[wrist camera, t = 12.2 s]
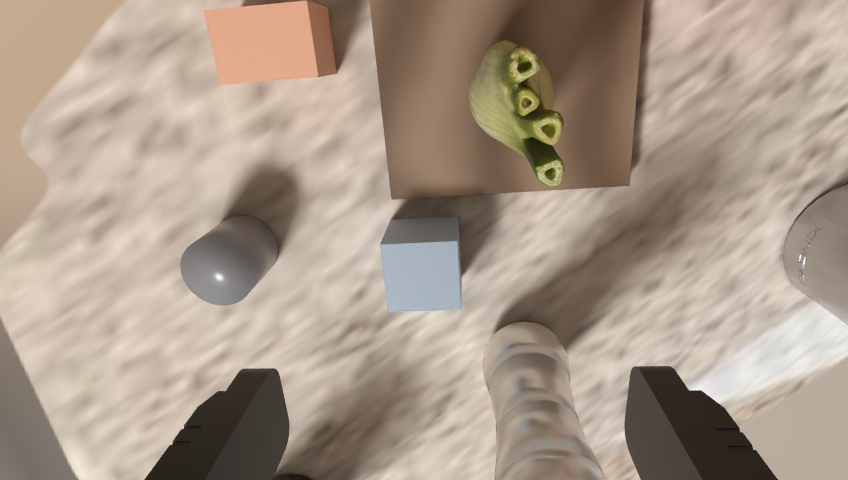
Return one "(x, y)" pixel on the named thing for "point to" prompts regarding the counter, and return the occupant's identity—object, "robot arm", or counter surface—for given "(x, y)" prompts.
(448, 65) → the walnut board
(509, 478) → the plastic bottle
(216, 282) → the grey rounded capsule
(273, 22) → the terracotta block
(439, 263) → the smoky blue cube
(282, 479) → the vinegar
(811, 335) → the counter surface
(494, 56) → the fennel bulb
